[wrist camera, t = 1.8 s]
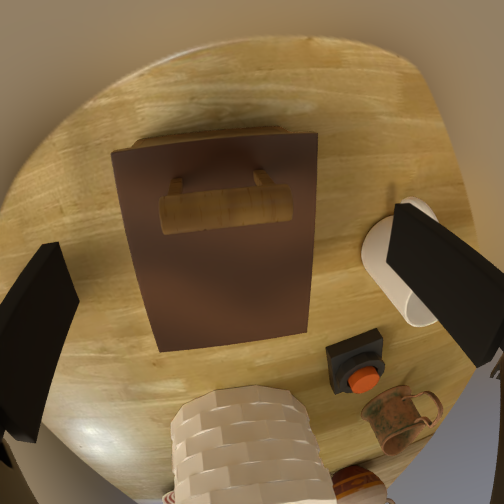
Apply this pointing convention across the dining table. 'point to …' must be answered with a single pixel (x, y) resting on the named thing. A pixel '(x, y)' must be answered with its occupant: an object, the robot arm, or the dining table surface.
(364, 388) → the button
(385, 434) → the mug
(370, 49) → the dining table surface
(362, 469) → the jug
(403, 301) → the mug
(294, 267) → the lid
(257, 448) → the basket
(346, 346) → the button base
